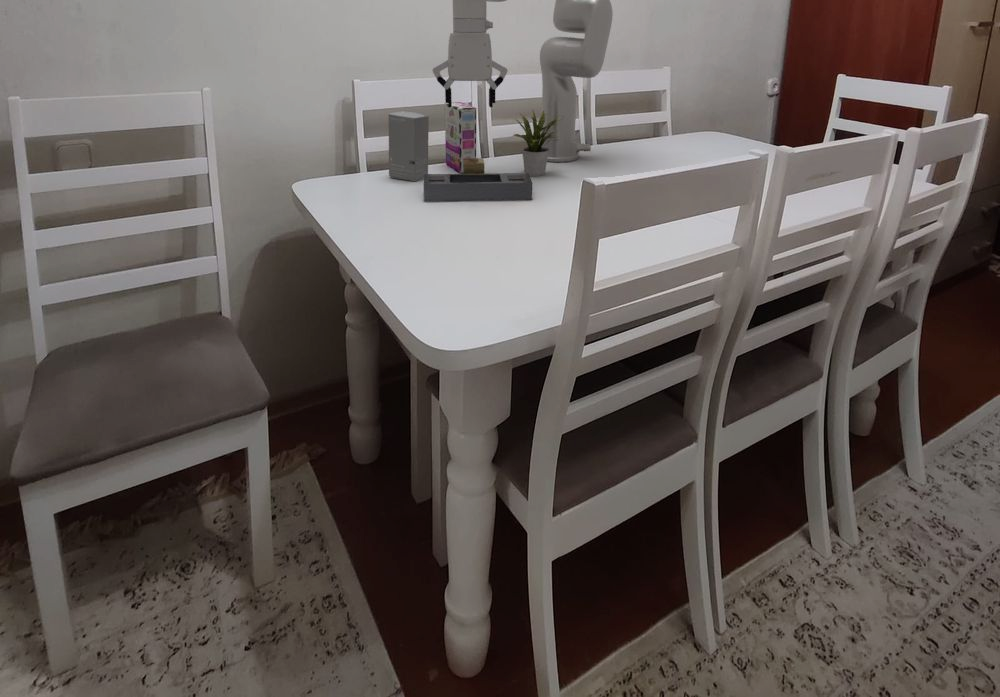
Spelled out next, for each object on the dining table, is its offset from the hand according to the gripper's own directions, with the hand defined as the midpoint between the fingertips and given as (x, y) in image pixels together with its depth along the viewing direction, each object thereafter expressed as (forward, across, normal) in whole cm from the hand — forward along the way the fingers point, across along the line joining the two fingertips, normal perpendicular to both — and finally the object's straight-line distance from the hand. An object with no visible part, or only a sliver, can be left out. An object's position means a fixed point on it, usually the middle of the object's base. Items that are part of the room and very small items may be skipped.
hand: (470, 106), depth 167 cm
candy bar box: (+19, +2, -17) cm, 26 cm away
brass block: (+19, -1, 0) cm, 19 cm away
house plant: (+19, -18, -10) cm, 27 cm away
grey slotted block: (+19, -2, +9) cm, 21 cm away
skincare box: (+19, +16, -8) cm, 26 cm away
